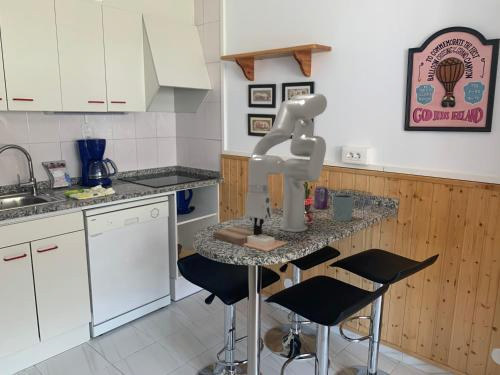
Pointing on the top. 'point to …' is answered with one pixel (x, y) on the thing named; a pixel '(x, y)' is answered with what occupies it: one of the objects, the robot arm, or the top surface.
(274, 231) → the top surface
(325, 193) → the beverage can
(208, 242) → the top surface
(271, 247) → the mat
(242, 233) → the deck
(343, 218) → the grey-blue bin
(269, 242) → the tile
